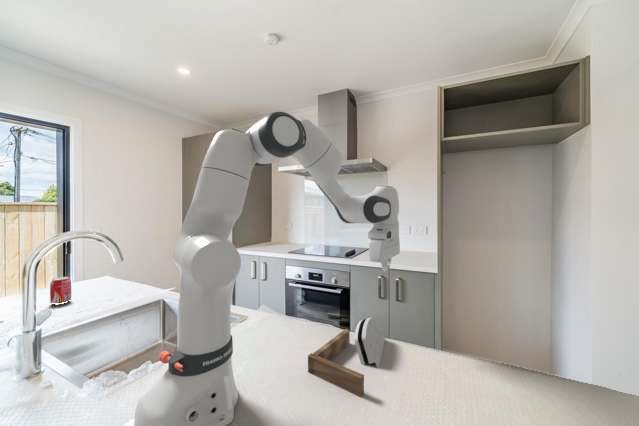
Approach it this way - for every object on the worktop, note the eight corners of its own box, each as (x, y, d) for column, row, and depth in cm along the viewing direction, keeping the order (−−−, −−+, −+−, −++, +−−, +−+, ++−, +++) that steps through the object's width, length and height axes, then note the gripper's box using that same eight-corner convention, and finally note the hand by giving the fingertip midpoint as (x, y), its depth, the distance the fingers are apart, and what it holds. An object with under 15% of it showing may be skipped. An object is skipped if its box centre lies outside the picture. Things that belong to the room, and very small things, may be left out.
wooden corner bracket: (361, 397, 60) (361, 378, 60) (307, 372, 69) (307, 355, 69) (390, 358, 76) (390, 343, 76) (344, 341, 85) (344, 328, 85)
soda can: (50, 303, 121) (50, 278, 121) (71, 299, 126) (71, 275, 126) (49, 307, 116) (49, 281, 116) (71, 303, 121) (70, 278, 120)
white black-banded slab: (378, 368, 71) (366, 332, 72) (362, 370, 73) (351, 335, 74) (385, 339, 87) (375, 310, 88) (372, 342, 88) (362, 313, 89)
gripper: (388, 229, 101) (388, 264, 101) (365, 233, 84) (365, 275, 85) (404, 230, 97) (404, 266, 98) (383, 234, 81) (383, 278, 81)
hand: (386, 270), depth 91 cm, fingers closed
